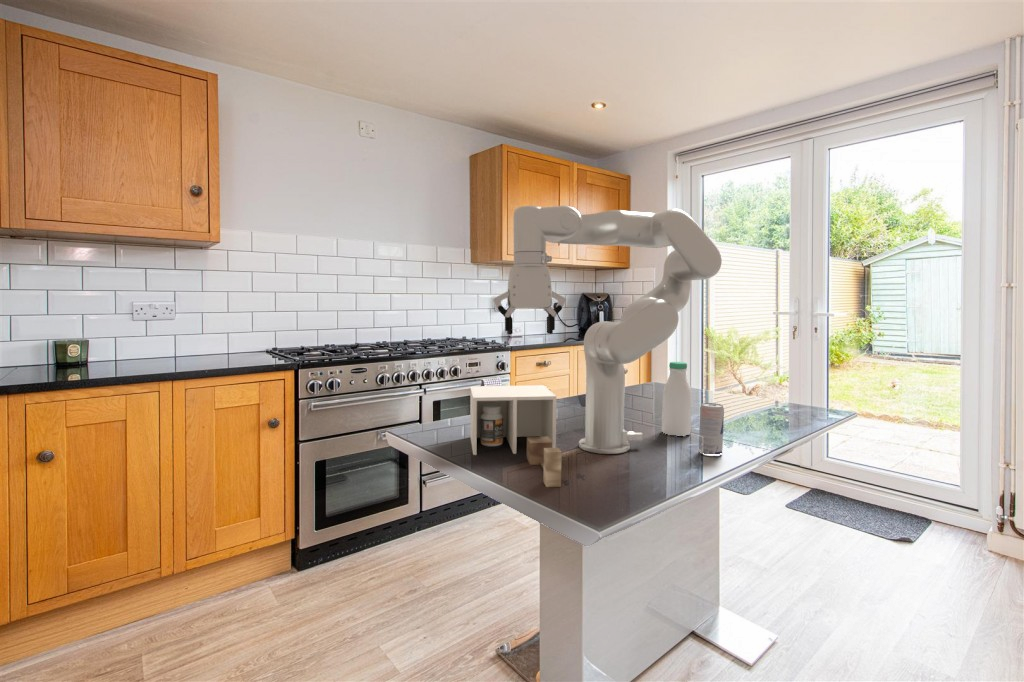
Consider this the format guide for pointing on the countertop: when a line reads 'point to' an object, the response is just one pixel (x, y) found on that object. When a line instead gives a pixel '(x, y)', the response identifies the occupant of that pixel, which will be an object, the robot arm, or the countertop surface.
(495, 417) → the pill bottle
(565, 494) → the countertop surface
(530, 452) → the wooden block tool
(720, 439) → the energy drink
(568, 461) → the countertop surface
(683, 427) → the milk bottle
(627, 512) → the countertop surface
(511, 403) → the cubby shelf
